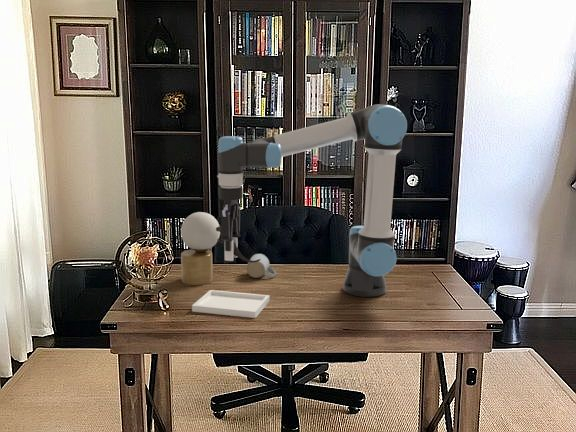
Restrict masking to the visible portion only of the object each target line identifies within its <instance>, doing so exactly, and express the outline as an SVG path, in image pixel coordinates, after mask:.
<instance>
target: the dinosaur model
mask: <svg viewBox="0 0 576 432" xmlns="http://www.w3.org/2000/svg"><path fill="white" fill-rule="evenodd" d="M216 231H219V232H220V237H221V238H219V239H217V243H220V244H223V245H224V241H222V240H221V239H222V235H221V225H219V227H217V228H216ZM233 254H234V255H235V256H237V258H239V259H241V260H243V261H245V262H247V263H249V262H252V263H253V262H257V261H260V260H261V259H259V260H255V261H251V260H250V259H248V258H246V257H245V256H243V254H242V252H240V250H239V248H237V246H236V244H235V243H234V241H233ZM234 258H235V257H233V260H234ZM229 262H231V261H226V260H225V259H224V262H223V263H224V264H229Z"/></svg>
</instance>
